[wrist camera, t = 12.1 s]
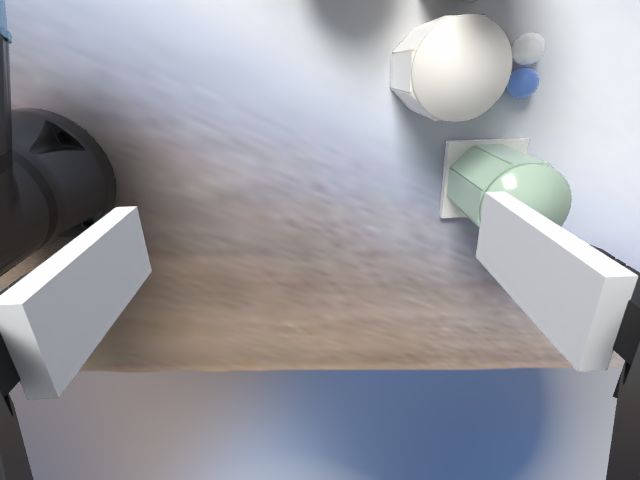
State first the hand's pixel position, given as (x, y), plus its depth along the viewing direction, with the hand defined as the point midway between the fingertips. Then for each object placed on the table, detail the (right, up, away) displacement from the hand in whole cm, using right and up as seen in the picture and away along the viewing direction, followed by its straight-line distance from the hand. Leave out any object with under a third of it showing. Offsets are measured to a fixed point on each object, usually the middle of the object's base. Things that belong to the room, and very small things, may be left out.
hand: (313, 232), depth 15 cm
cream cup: (+12, +18, +27) cm, 34 cm away
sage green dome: (+19, +7, +31) cm, 37 cm away
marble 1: (+21, +20, +26) cm, 39 cm away
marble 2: (+21, +17, +28) cm, 39 cm away
